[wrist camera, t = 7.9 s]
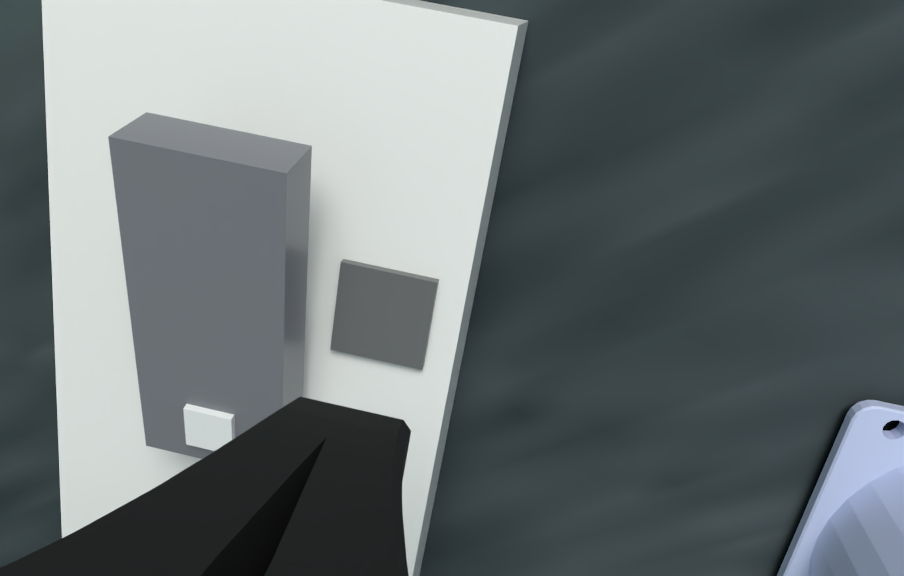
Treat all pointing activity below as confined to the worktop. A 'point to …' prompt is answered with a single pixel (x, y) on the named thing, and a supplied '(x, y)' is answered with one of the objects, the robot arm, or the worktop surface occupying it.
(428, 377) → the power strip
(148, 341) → the grey block
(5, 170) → the worktop surface
